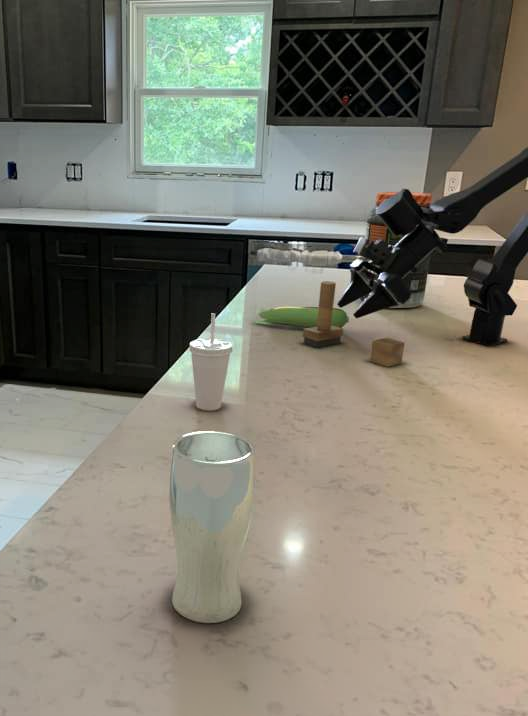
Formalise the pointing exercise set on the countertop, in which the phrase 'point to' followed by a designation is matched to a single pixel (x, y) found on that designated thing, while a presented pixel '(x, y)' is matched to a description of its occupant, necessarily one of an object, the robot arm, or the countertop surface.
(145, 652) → the countertop surface
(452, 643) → the countertop surface
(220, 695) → the countertop surface
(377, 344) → the cork block
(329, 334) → the brush
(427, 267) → the supplement tub
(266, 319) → the edible corn
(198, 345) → the smoothie
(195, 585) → the beer glass
